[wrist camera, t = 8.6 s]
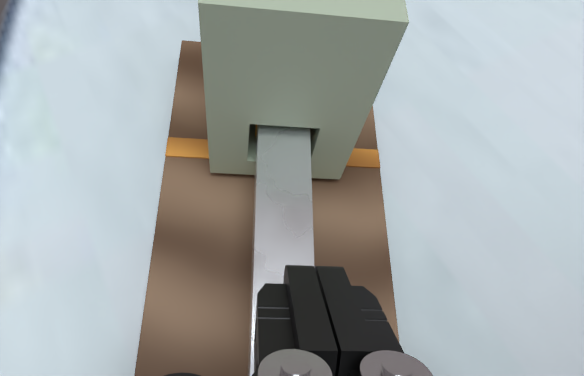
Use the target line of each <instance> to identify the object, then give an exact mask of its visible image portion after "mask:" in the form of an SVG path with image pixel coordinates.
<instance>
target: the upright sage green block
mask: <svg viewBox="0 0 584 376" xmlns="http://www.w3.org/2000/svg"><path fill="white" fill-rule="evenodd" d="M198 7H199V21H200V36H201V50H202V64H203V78H204V93H205V107H206V121H207V135H208V149H209V164H210V173H226V174H245V175H255V154H256V137H255V125H256V124H258V125H273V126H288V127H304V128H310V143H311V175H312V178H321V179H340V178H341V176H342V173H343V171H344V169H345V167H346V164H347V162H348V160H349V158H350V155H351V153H352V151H353V148H354V146H355V144H356V142H357V139H358V137H359V135H360V133H361V130H362V128H363V126H364V123H365V121H366V119H367V117H368V114H369V112H370V110H371V108H372V105H373V103H374V101H375V98H376V96H377V94H378V92H379V89H380V87H381V85H382V82H383V80H384V78H385V76H386V73H387V71H388V69H389V67H390V64H391V62H392V60H393V57H394V55H395V53H396V51H397V48H398V46H399V44H400V42H401V39H402V37H403V35H404V32H405V30H406V28H407V26H408V23H409V20H408V14H407V9H406V3H405V0H198Z"/></svg>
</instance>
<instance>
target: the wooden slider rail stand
mask: <svg viewBox="0 0 584 376" xmlns="http://www.w3.org/2000/svg"><path fill="white" fill-rule="evenodd" d="M165 156H166V157H165V164H164V171H163V178H162V185H161V192H160V199H159V206H158V214H157V221H156V228H155V235H154V242H153V249H152V256H151V263H150V270H149V277H148V284H147V291H146V298H145V305H144V312H143V320H142V327H141V334H140V341H139V348H138V355H137V362H136V369H135V376H164V375H167V374H172V373H181V372H183V373H193V374H197V375H201V376H248V357H249V328H250V299H251V270H252V241H253V212H254V183H255V175H245V174H226V173H210V164H209V149H208V135H207V121H206V107H205V93H204V78H203V64H202V50H201V42H194V41H182V44H181V51H180V58H179V65H178V72H177V79H176V86H175V93H174V100H173V108H172V115H171V122H170V129H169V136H168V140H167V147H166V154H165ZM312 206H313V238H314V267H315V266H338V267H344V269H345V272H346V274H347V277H348V279H349V281H350V284H351V286H364V287H365V288H366V289H367V290H369V291H370V292H371V293H372V294H373V295H375V296H376V297H377V299H378V301H379V303H380V305H381V307H382V311H384V313H385V316H386V318H387V322H389V324H390V326H391V328H392V330H393V332H394V334H395V336H396V338H397V340H398V342H399V337H398V328H397V319H396V310H395V301H394V292H393V283H392V274H391V265H390V256H389V247H388V238H387V229H386V221H385V212H384V203H383V194H382V185H381V176H380V162H379V153H378V149H377V140H376V131H375V122H374V113H373V105H372V108H371V110H370V112H369V114H368V117H367V119H366V121H365V123H364V126H363V128H362V130H361V133H360V135H359V137H358V139H357V142H356V144H355V146H354V148H353V151H352V153H351V155H350V158H349V160H348V162H347V164H346V167H345V169H344V171H343V173H342V176H341V178H340V179H321V178H312Z"/></svg>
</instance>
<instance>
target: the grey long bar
mask: <svg viewBox="0 0 584 376" xmlns="http://www.w3.org/2000/svg"><path fill="white" fill-rule="evenodd" d="M255 137H256V154H255V183H254V212H253V241H252V270H251V299H250V328H249V357H248V376H251V375H252V374H253V373H254V337H255V321H256V306H257V293H258V292H259V291H260V289H261V288H262V287H263V286H264V284H265V283H274V284H283V280H284V270H285V265H305V266H314V238H313V206H312V175H311V143H310V128H304V127H288V126H273V125H258V124H256V125H255Z"/></svg>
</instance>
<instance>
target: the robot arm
mask: <svg viewBox="0 0 584 376" xmlns="http://www.w3.org/2000/svg"><path fill="white" fill-rule="evenodd" d="M164 376H201V375H197V374H193V373H183V372H181V373H172V374H167V375H164ZM251 376H433V375H432V374H431V372H430V371H429V369H428V368H427V367H426V366H425V365H424V364H423V363H421V362H420V361H419V360H417V359H415V358H414V357H412V356H409V355H407V354H404V352H403V350H402V348H401V346H400V344H399V342H398V340H397V338H396V336H395V334H394V332H393V330H392V328H391V326H390V324H389V322H387V318H386V316H385V313H384V311H382V307H381V305H380V303H379V301H378V299H377V297H376V296H375V295H373V294H372V293H371V292H370V291H369V290H367V289H366V288H365V287H364V286H351V284H350V281H349V279H348V277H347V274H346V272H345V269H344V267H338V266H315V267H314V266H305V265H285V270H284V280H283V284H274V283H265V284H264V286H263V287H262V288H261V289H260V291H259V292H258V293H257V306H256V321H255V337H254V373H253V374H252V375H251Z"/></svg>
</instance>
